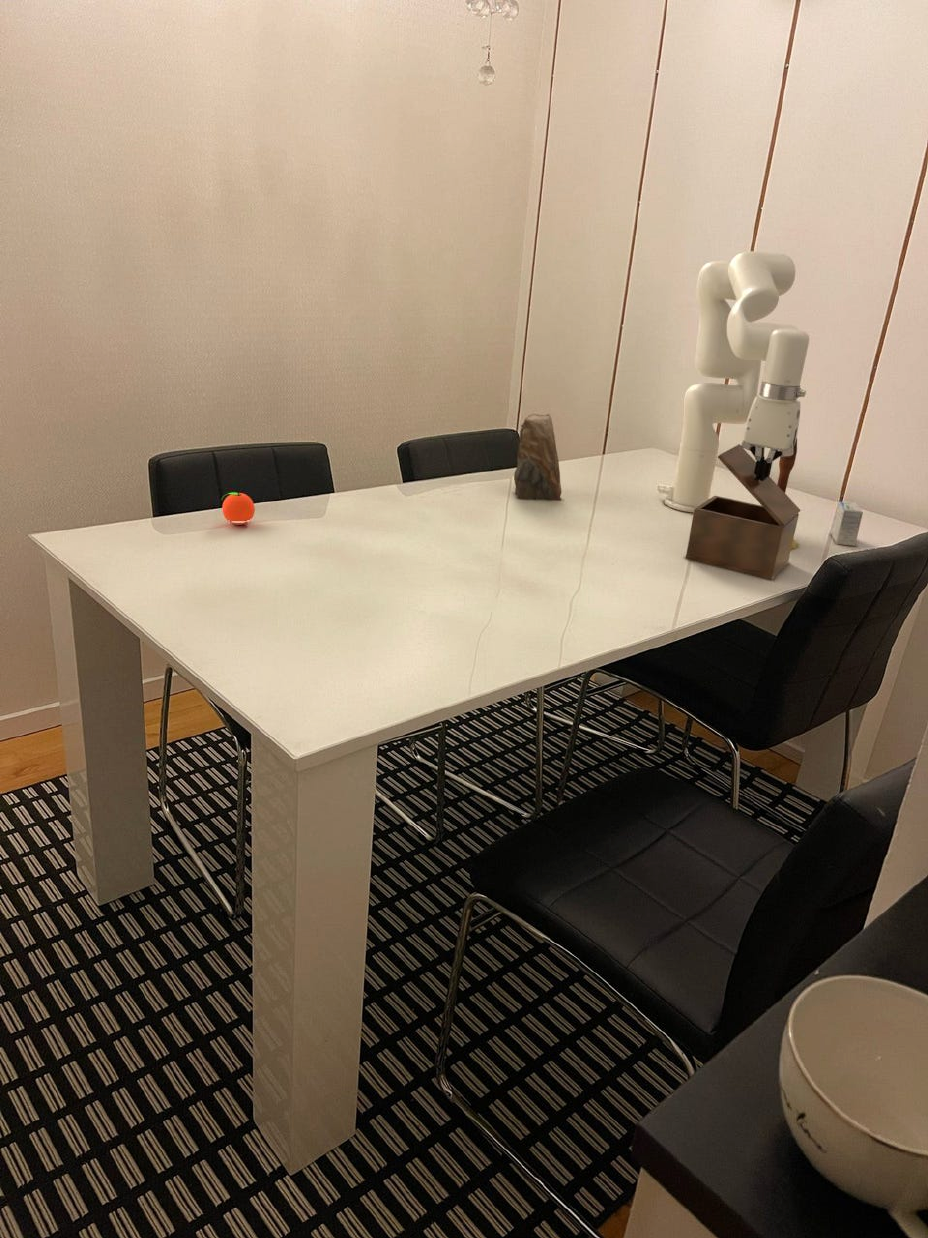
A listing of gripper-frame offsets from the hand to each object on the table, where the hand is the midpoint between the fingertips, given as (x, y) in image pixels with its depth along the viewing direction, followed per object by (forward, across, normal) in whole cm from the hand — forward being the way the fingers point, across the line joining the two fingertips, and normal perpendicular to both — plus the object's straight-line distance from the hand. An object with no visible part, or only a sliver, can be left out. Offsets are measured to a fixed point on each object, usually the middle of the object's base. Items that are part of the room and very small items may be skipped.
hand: (760, 479), depth 199 cm
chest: (+19, +2, 0) cm, 19 cm away
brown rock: (+19, +58, -13) cm, 63 cm away
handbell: (+19, -1, -20) cm, 28 cm away
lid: (+1, 0, 0) cm, 1 cm away
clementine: (+19, +97, +56) cm, 114 cm away
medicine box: (+19, -15, -34) cm, 42 cm away
